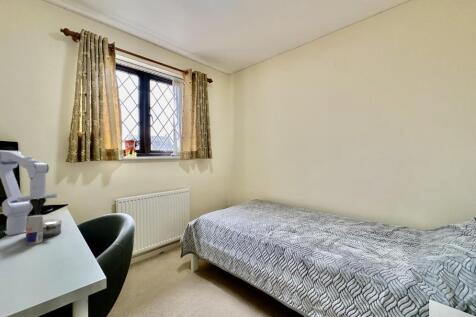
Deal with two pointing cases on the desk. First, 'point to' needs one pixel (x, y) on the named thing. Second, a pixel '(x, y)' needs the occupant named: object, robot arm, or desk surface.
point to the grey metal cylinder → (51, 232)
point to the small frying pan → (50, 223)
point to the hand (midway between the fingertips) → (37, 214)
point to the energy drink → (34, 230)
